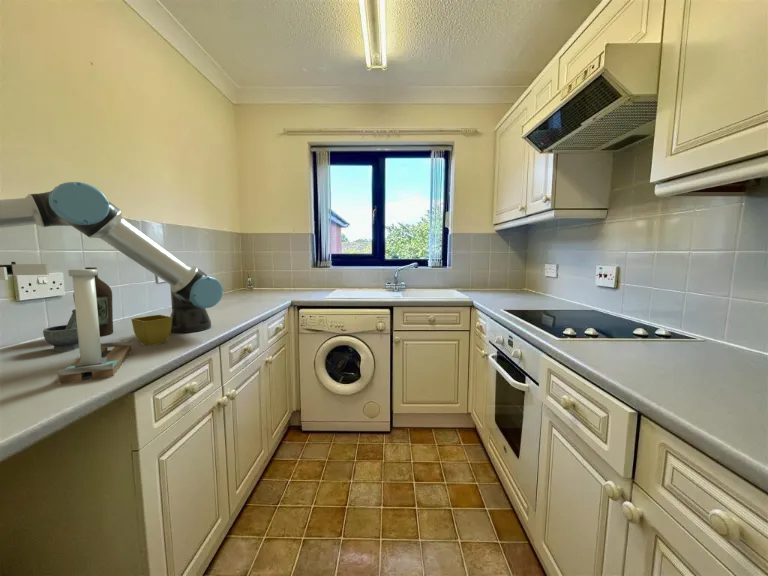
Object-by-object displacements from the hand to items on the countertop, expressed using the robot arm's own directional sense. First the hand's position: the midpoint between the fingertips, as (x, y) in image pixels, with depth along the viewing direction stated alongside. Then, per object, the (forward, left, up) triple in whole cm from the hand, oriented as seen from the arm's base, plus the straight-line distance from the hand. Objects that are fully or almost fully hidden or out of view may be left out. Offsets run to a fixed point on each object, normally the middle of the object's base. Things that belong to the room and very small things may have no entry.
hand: (28, 271), depth 76 cm
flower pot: (-20, -24, -27) cm, 41 cm away
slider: (-10, +2, -24) cm, 26 cm away
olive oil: (0, -47, -27) cm, 54 cm away
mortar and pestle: (+3, -30, -27) cm, 40 cm away
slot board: (-10, -6, -26) cm, 29 cm away
